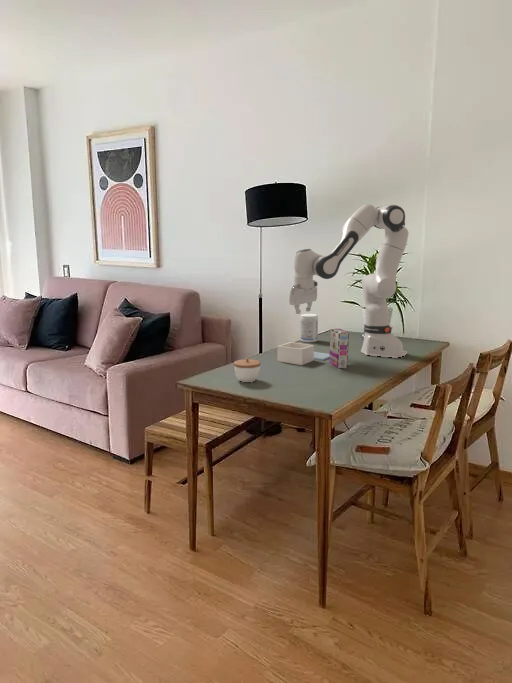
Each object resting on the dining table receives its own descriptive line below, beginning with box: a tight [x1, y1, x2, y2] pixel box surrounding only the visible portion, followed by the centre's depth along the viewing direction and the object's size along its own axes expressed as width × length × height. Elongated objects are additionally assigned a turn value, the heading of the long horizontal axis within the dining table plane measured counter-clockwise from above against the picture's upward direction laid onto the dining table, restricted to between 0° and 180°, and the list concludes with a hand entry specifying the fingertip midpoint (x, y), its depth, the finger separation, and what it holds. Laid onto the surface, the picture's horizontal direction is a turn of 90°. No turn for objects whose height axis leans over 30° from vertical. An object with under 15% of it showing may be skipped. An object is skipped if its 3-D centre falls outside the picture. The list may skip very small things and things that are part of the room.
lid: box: [314, 351, 330, 361], centre depth 255 cm, size 17×11×4 cm, turn 54°
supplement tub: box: [300, 313, 319, 343], centre depth 294 cm, size 10×10×15 cm
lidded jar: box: [233, 357, 261, 383], centre depth 215 cm, size 11×11×9 cm
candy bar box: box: [329, 328, 350, 370], centre depth 237 cm, size 11×5×16 cm, turn 12°
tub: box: [276, 341, 315, 366], centre depth 246 cm, size 13×11×8 cm
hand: (303, 312), depth 256 cm, fingers open, 8 cm apart
